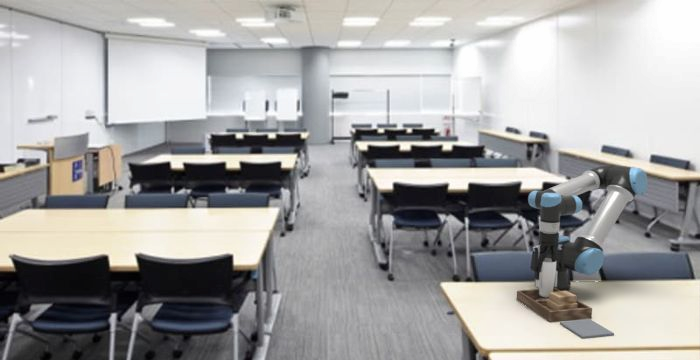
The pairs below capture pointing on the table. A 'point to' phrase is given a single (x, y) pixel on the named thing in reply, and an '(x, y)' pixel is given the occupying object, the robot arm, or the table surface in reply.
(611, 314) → the table surface
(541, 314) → the tray
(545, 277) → the drinking glass
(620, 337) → the table surface
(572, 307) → the offcut middle
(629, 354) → the table surface
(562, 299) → the offcut top
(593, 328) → the mat
